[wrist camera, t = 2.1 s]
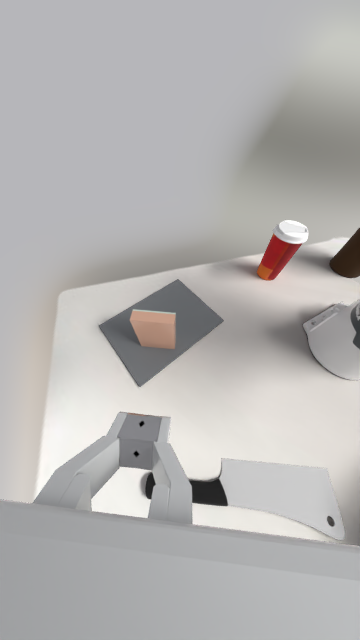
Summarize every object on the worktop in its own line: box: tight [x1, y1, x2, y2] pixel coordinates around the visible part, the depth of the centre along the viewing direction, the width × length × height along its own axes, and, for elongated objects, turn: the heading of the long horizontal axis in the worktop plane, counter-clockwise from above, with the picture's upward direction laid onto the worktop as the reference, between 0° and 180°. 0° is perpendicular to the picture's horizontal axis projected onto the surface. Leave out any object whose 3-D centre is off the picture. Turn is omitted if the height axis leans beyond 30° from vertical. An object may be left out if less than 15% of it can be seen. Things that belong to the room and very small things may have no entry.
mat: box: [99, 279, 224, 387], centre depth 45 cm, size 26×19×1 cm
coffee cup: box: [257, 220, 308, 280], centre depth 49 cm, size 8×8×15 cm
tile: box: [130, 309, 176, 349], centre depth 36 cm, size 2×8×12 cm, turn 85°
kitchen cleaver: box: [146, 458, 345, 540], centre depth 29 cm, size 31×2×10 cm
